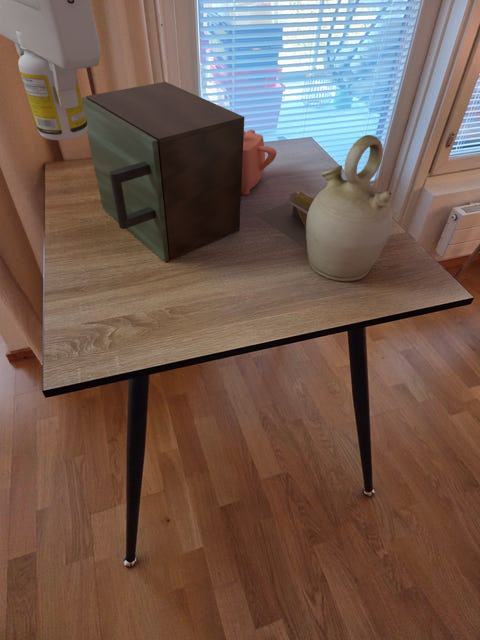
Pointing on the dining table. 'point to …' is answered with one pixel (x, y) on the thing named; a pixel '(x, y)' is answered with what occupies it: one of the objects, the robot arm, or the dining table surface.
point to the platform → (290, 217)
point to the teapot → (254, 159)
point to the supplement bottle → (49, 99)
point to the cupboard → (188, 159)
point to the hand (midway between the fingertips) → (54, 97)
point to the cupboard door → (128, 176)
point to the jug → (349, 217)
